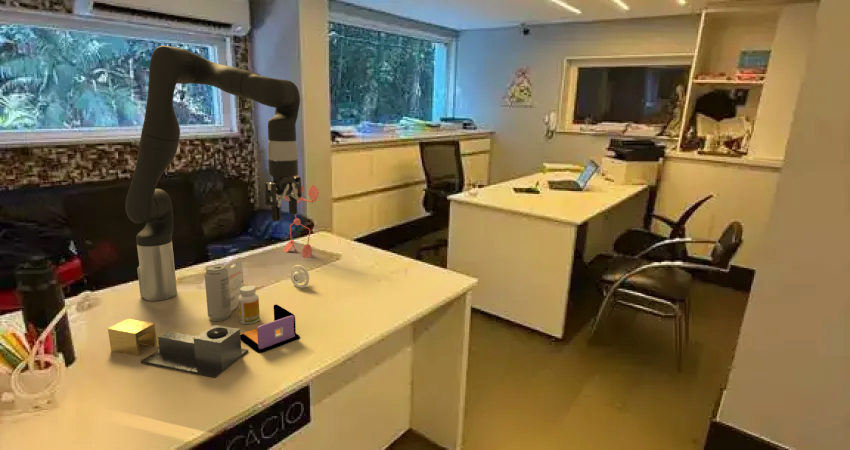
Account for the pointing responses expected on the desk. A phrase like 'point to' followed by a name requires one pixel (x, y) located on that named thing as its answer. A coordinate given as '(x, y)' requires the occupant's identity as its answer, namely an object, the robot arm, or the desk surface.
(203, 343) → the grey knob base
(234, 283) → the ink cartridge box
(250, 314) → the supplement bottle
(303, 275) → the ring around a ball
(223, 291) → the energy drink can
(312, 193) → the flower sculpture
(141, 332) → the brass open box
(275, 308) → the toy room diorama
